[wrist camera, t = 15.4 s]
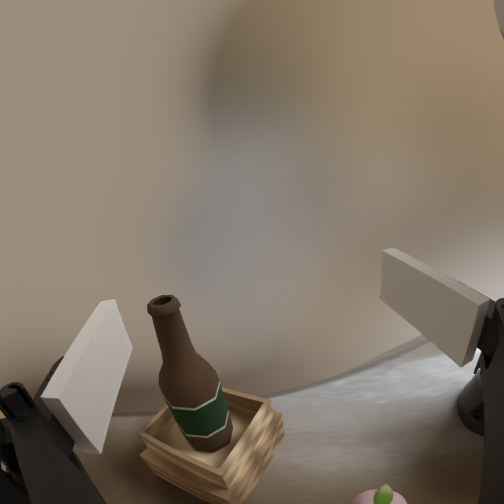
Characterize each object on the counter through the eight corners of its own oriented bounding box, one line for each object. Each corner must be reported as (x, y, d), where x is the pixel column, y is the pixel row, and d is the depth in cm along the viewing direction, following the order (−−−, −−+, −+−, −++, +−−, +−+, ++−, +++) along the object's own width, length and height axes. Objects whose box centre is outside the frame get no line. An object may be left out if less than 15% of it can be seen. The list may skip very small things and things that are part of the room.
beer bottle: (244, 426, 37) (211, 288, 30) (217, 462, 31) (161, 325, 24) (203, 411, 41) (161, 281, 34) (175, 441, 35) (114, 310, 28)
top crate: (198, 396, 46) (191, 377, 44) (273, 418, 39) (270, 399, 38) (149, 450, 34) (137, 433, 32) (229, 489, 27) (221, 475, 25)
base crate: (209, 412, 50) (200, 389, 47) (284, 434, 42) (281, 412, 40) (155, 474, 34) (139, 454, 32) (237, 514, 27) (227, 500, 25)
